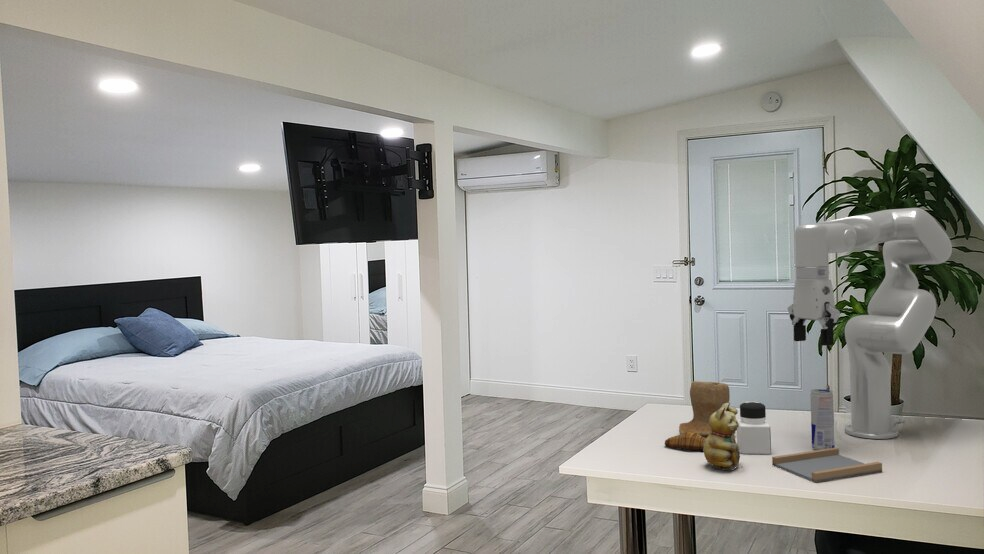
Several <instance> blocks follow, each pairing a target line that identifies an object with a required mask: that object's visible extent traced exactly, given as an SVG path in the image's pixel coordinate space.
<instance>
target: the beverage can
mask: <svg viewBox="0 0 984 554" xmlns="http://www.w3.org/2000/svg"><path fill="white" fill-rule="evenodd" d="M833 393H834V391H833V390H830V389H827V388H826V389H825V388H818V389H816V388H815V389H811V390H810V420H811V421H810V425H811V431H810V433H811V447H812V449H814V451H815V450H822V449H829V448H835V423H834V422H835V420H834V419H835V418H834V417H835V415H834V414H835V413H834V394H833Z"/></svg>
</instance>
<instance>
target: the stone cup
mask: <svg viewBox="0 0 984 554" xmlns="http://www.w3.org/2000/svg"><path fill="white" fill-rule="evenodd" d="M689 397H690V402H691V408H692V414H693V416H692V419H691V420H690V421H688V422H682V423H679V426H678V432H679V435H681V434H683V433H685V432H688V431H692V432H695V433H697V434H699V435H700V436H702V437H705V438H707V437H708V436H709V435H710V431H711V430H712V429H711V427H710V425H709V419H710V417H711V415H712V414H713V413H714V412H717V410H719V409H720V408H721V407H722V405H723V404H725V403H730V387H729V385H728V384H727V383H724V382H719V381H718V382H716V381H699V380H694V381H692V382H691V385H690V388H689ZM735 434H736V431H735V432H734V433H733V436H734V435H735Z"/></svg>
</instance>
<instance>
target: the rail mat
mask: <svg viewBox="0 0 984 554" xmlns="http://www.w3.org/2000/svg"><path fill="white" fill-rule="evenodd" d="M839 451H840V450H839V448H837V447H834V448H829V449H822V450H815V449H814V450H810V451H808V450H807V451H804V452H796V453H789V454H782V455H776V456H774V455H773V456H772V457H771V464H772V466H773V465H774V466H773V467H775V466H776V468H778V469H780V468H781V469H780V470H782V471H785V470H786V472H788V473H790V474H793V475H796V476H798V477H800V478H803V479H805V480H807V481H810V482H813V483H814V484H815V483H816V484H819V483H822V482H829V481H830V482H831V481H837V480H841V479H849V478H854V477H859V476H860V477H861V476H866V475H873V474H878V473H879V474H880V473H883V463H882V462H881V461H875V462H874V461H873V462H867V463H865V462H861V461H858V460H855V459H853V458H850V457H847V456H844V455H841V454H840V453H839Z"/></svg>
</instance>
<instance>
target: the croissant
mask: <svg viewBox="0 0 984 554" xmlns="http://www.w3.org/2000/svg"><path fill="white" fill-rule="evenodd" d="M706 438H707V437H702V436H700V435H699V434H697V433H695V432H692V431H688V432H685V433H683V434H681V435H680V434H678V435H674V436H671V437H668V438H667V439H665V440H664V446H665V447H666V448H669V449H675V450H682V451H683V450H684V451H690V452H693V451H694V452H695V451H696V452H704V451H703V448H704V443H705V440H706Z"/></svg>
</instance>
